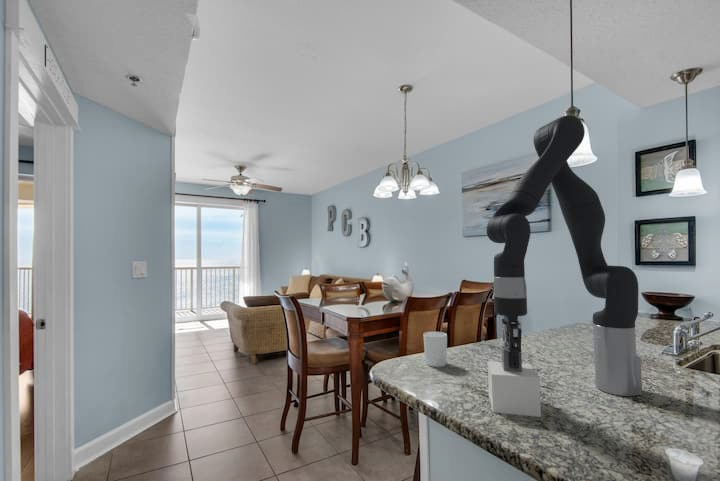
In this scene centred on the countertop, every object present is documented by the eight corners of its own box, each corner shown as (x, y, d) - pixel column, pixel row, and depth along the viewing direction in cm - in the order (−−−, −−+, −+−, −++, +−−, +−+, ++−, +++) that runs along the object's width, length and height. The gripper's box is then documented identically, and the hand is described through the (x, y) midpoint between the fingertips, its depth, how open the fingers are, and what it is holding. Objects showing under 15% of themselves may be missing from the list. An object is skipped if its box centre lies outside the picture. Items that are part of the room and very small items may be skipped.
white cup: (448, 368, 111) (447, 337, 112) (423, 367, 113) (423, 336, 113) (447, 360, 119) (446, 331, 120) (424, 359, 121) (423, 331, 121)
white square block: (531, 398, 87) (529, 344, 88) (541, 417, 78) (538, 355, 78) (488, 395, 90) (487, 342, 91) (493, 412, 80) (491, 352, 81)
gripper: (532, 298, 77) (535, 376, 76) (520, 292, 91) (523, 357, 90) (497, 298, 79) (499, 373, 78) (490, 291, 93) (492, 355, 92)
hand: (512, 364), depth 84 cm, fingers open, 4 cm apart
